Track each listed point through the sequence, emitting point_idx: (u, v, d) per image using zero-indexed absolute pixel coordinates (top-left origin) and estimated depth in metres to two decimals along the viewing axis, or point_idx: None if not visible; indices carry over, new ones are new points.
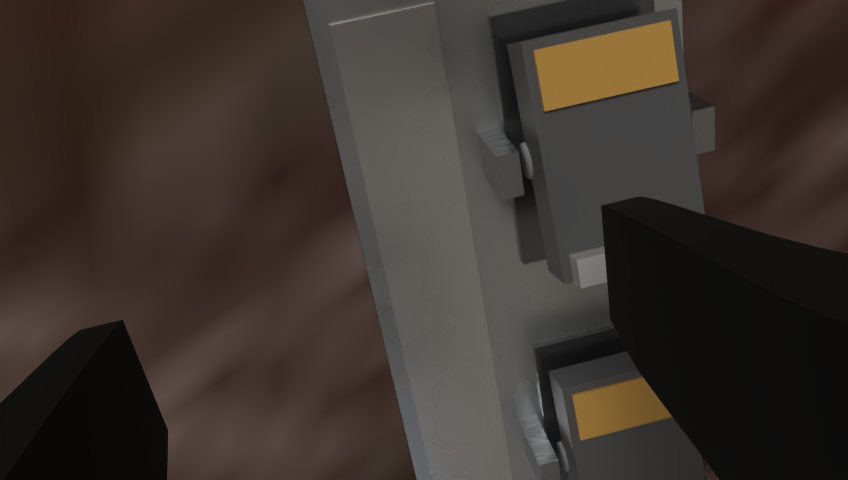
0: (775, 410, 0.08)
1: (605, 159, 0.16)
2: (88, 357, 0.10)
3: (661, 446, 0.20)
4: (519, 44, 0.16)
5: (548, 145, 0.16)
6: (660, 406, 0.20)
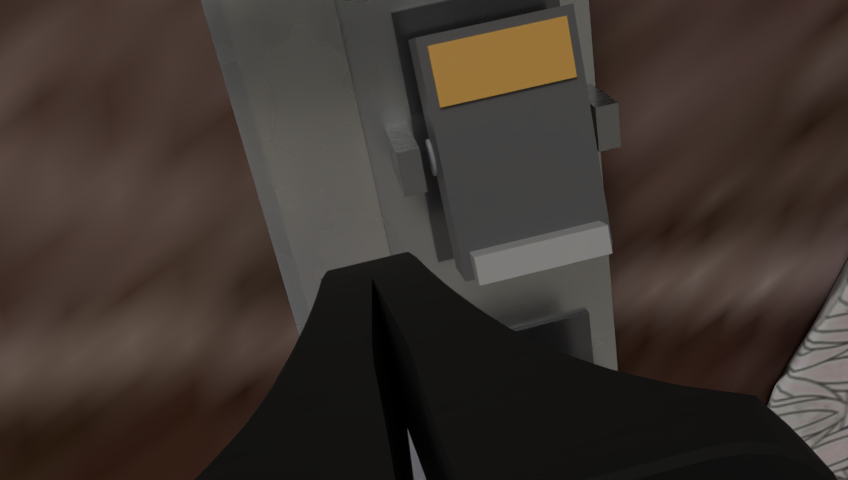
0: None
1: None
2: (366, 290, 0.10)
3: (544, 123, 0.16)
4: None
5: None
6: (540, 68, 0.16)
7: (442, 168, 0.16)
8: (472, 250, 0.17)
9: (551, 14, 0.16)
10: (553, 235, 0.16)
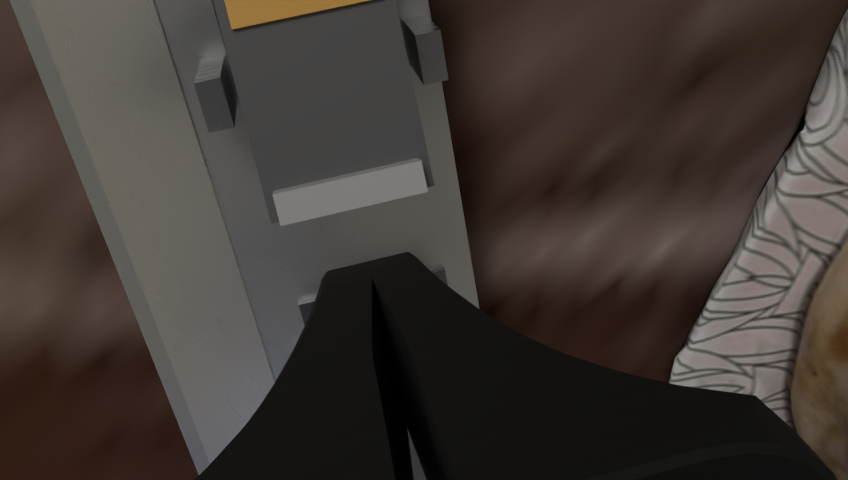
0: None
1: None
2: (365, 290, 0.10)
3: (351, 49, 0.15)
4: None
5: None
6: None
7: (239, 98, 0.15)
8: (276, 189, 0.15)
9: None
10: (363, 172, 0.15)
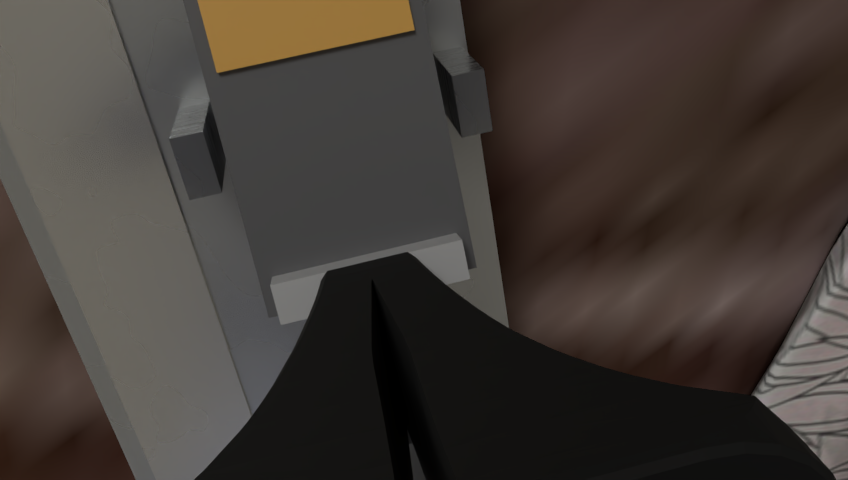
0: None
1: None
2: (366, 290, 0.10)
3: (371, 96, 0.12)
4: None
5: None
6: (363, 18, 0.11)
7: (227, 159, 0.12)
8: (275, 274, 0.12)
9: None
10: (387, 254, 0.12)
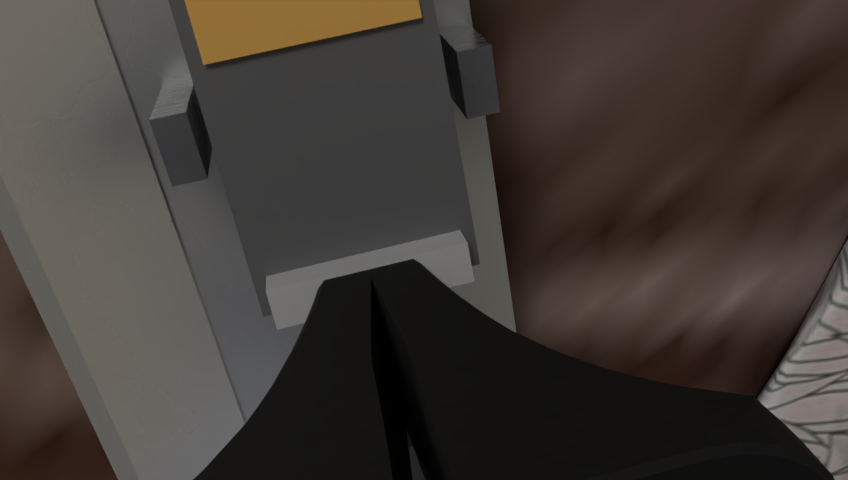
0: None
1: None
2: (365, 290, 0.10)
3: (373, 88, 0.11)
4: None
5: None
6: (365, 3, 0.10)
7: (216, 156, 0.11)
8: (269, 273, 0.11)
9: None
10: (388, 255, 0.11)
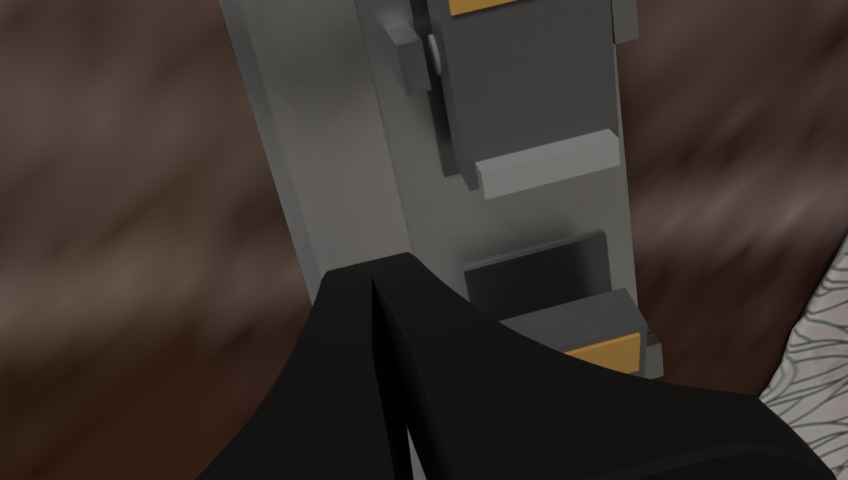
0: None
1: None
2: (365, 290, 0.10)
3: (561, 30, 0.15)
4: None
5: None
6: None
7: (450, 78, 0.15)
8: (477, 160, 0.16)
9: None
10: (562, 147, 0.16)
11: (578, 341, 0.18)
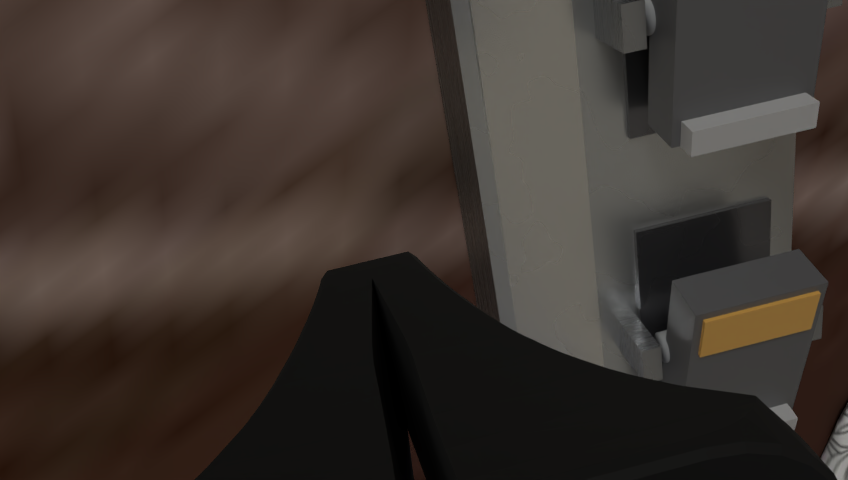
0: None
1: None
2: (366, 290, 0.10)
3: None
4: None
5: None
6: None
7: (675, 41, 0.16)
8: (684, 119, 0.17)
9: None
10: (765, 109, 0.17)
11: (762, 297, 0.18)
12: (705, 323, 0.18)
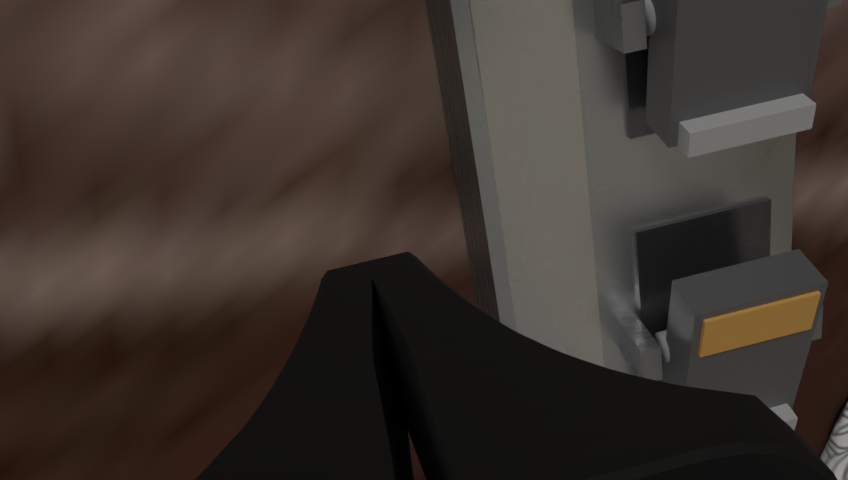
0: None
1: None
2: (366, 290, 0.10)
3: (782, 1, 0.16)
4: None
5: None
6: None
7: (674, 44, 0.16)
8: (681, 120, 0.17)
9: None
10: (762, 110, 0.17)
11: (762, 297, 0.18)
12: (705, 323, 0.18)
